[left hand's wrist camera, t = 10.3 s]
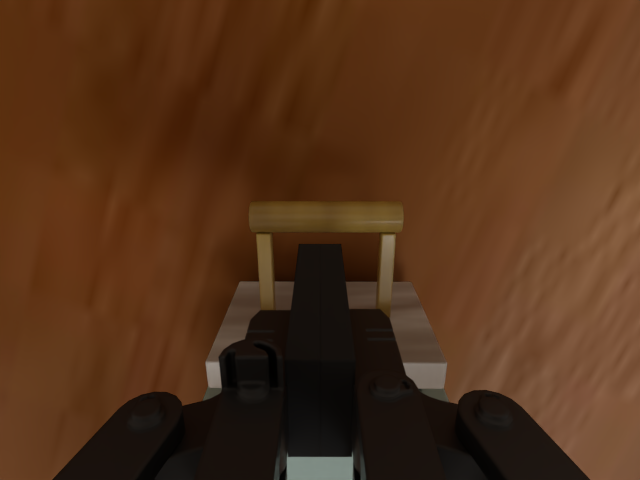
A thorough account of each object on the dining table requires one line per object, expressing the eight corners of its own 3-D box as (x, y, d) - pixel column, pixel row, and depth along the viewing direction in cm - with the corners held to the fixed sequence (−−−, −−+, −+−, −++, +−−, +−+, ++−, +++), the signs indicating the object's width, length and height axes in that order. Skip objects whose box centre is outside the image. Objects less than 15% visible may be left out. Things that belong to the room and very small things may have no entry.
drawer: (231, 183, 19) (188, 229, 13) (420, 182, 19) (465, 229, 13) (260, 544, 28) (242, 673, 22) (389, 545, 28) (407, 674, 22)
